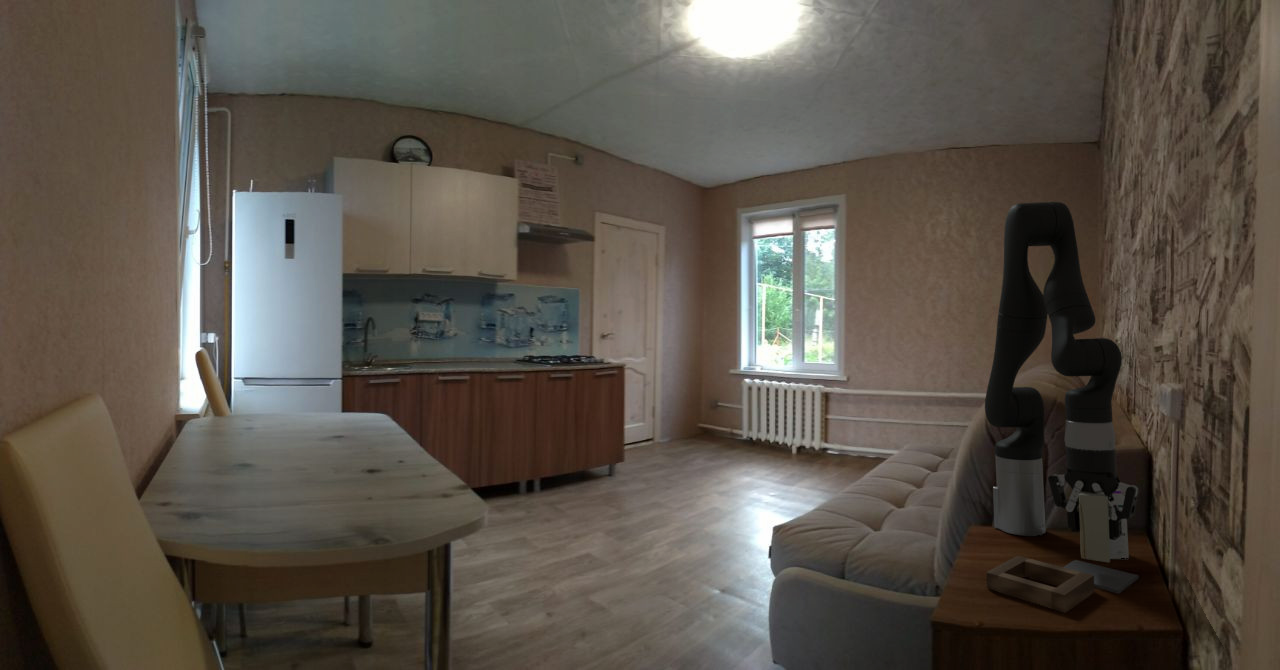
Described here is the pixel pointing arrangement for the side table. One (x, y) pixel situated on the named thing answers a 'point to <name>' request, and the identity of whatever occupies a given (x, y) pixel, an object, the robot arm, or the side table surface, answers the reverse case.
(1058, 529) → the side table surface
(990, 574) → the walnut collar
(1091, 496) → the skincare box
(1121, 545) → the syrup box
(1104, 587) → the rubber mat
